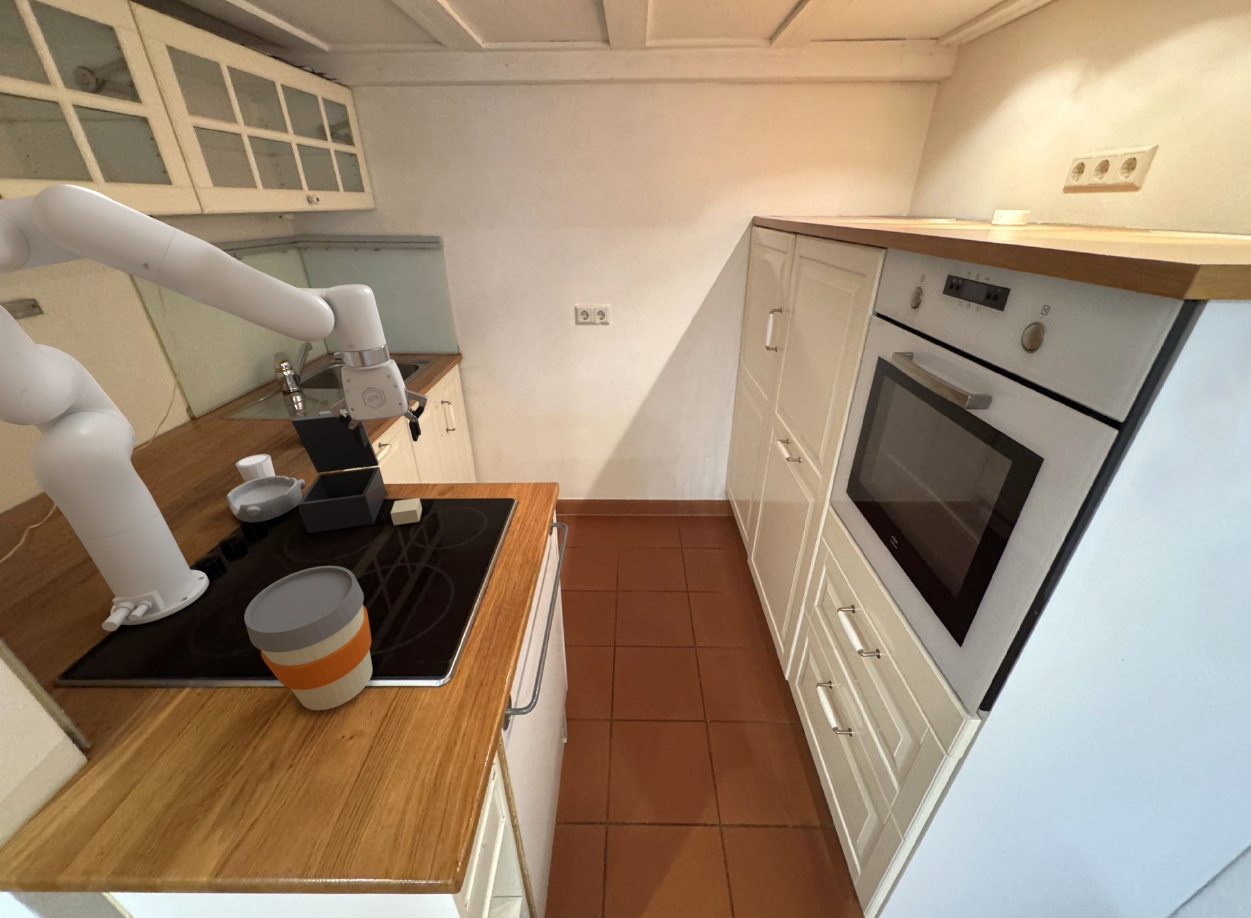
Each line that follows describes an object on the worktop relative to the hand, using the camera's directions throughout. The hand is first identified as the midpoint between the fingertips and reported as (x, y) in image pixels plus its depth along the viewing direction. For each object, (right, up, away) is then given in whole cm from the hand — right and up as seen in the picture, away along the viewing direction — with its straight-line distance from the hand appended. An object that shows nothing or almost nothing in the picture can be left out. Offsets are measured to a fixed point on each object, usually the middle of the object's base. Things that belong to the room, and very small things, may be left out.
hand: (390, 442), depth 98 cm
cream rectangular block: (0, -16, +7) cm, 17 cm away
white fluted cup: (-41, -10, +23) cm, 48 cm away
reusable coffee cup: (+7, -34, -30) cm, 46 cm away
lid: (-15, 0, +8) cm, 17 cm away
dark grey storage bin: (-14, -15, +10) cm, 23 cm away
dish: (-33, -14, +13) cm, 38 cm away
